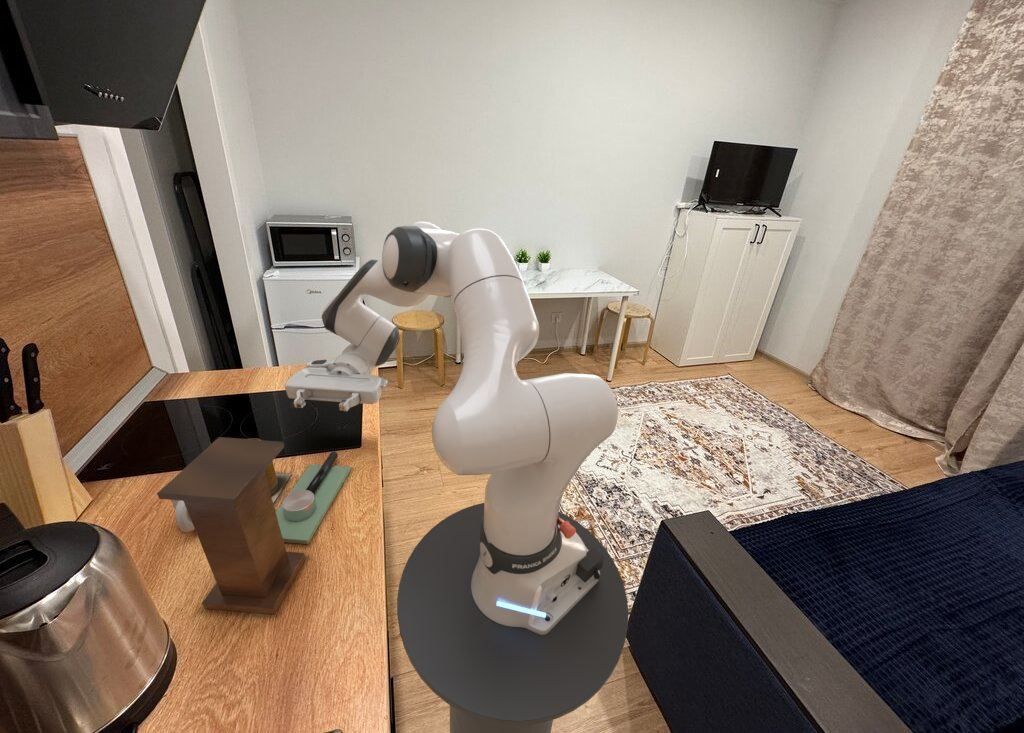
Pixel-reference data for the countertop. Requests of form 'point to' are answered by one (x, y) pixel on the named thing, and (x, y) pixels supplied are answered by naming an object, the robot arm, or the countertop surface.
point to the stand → (237, 524)
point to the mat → (323, 500)
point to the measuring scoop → (306, 495)
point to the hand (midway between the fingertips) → (320, 406)
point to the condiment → (274, 479)
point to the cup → (182, 516)
